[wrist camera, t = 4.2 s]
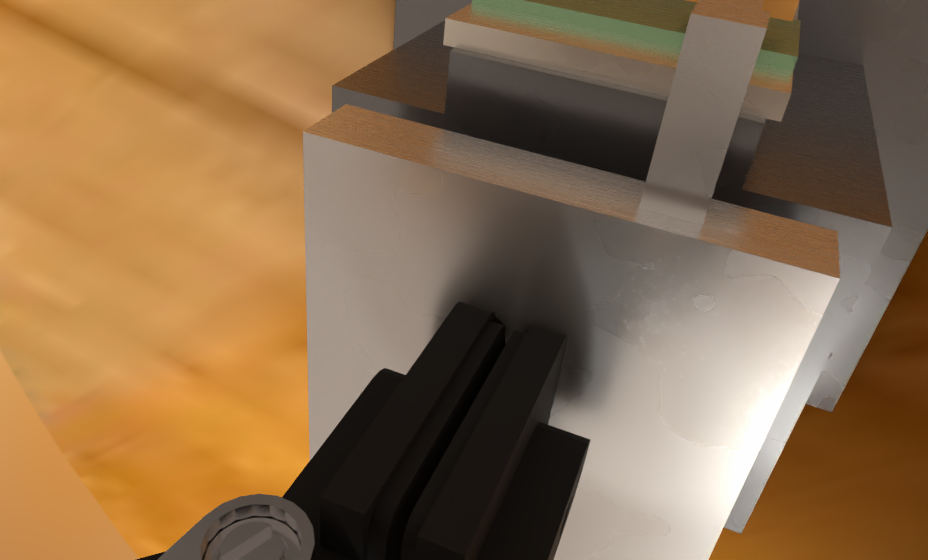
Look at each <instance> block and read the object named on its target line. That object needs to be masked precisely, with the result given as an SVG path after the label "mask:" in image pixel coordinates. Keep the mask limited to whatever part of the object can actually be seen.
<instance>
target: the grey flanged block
mask: <svg viewBox="0 0 928 560" xmlns="http://www.w3.org/2000/svg"><path fill="white" fill-rule="evenodd" d="M763 3H764V0H698V2H697V4H696V5H695V7H694V9H693V10H692V12H691V14H690V18H689V22H688V25H687V29H686V33H685V37H684V40H683V44H682V48H681V52H680V55H679V59H678V63H677V67H676V70H675V74H674V78H673V82H672V85H671V89H670V93H669V97H668V100H667V104H666V108H665V112H664V115H663V119H662V123H661V127H660V130H659V134H658V138H657V142H656V145H655V149H654V153H653V157H652V160H651V164H650V168H649V172H648V175H647V179H646V182H645V181H641V180H637V179H633V178H629V177H625V176H622V175H618V174H614V173H610V172H606V171H602V170H598V169H595V168H591V167H587V166H583V165H579V164H575V163H571V162H568V161H564V160H560V159H556V158H552V157H548V156H544V155H541V154H537V153H533V152H529V151H525V150H521V149H517V148H514V147H510V146H506V145H502V144H498V143H494V142H490V141H486V140H483V139H479V138H475V137H471V136H467V135H463V134H459V133H456V132H452V131H448V130H444V129H440V128H436V127H432V126H429V125H425V124H421V123H417V122H413V121H409V120H405V119H402V118H398V117H394V116H390V115H386V114H382V113H378V112H375V111H371V110H367V109H363V108H359V107H355V106H351V105H348V104H345V105H344V106H342V107H341V108H339V109H338V110H336V111H334V112H333V113H331V114H330V115H328V116H327V117H325V118H324V119H322V120H320V121H319V122H317V123H316V124H314V125H313V126H311V127H309V128H308V129H306V130H305V131H303V157H304V205H305V252H306V300H307V347H308V394H309V442H310V460H311V459H312V458H313V456H314V455H315V454H316V452H317V451H318V450H319V448H320V447H321V446H322V444H323V443H324V442H325V440H326V439H327V438H328V437H329V435H330V434H331V433H332V431H333V430H334V429H335V427H336V426H337V425H338V423H339V422H340V421H341V419H342V418H343V417H344V415H345V414H346V413H347V411H348V410H349V409H350V408H351V406H352V405H353V404H354V402H355V401H356V400H357V398H358V397H359V396H360V394H361V393H362V392H363V390H364V389H365V388H366V386H367V385H368V384H369V383H370V381H371V380H372V379H373V377H374V376H375V375H376V374H377V373H378V372H379V371H380V370H382V369H384V368H387V369H390V370H393V371H395V372H398V373H401V374H404V375H406V374H407V373H408V371H409V370H410V368H411V367H412V365H413V364H414V363H415V361H416V360H417V358H418V357H419V356H420V354H421V353H422V351H423V350H424V348H425V347H426V346H427V344H428V343H429V341H430V340H431V339H432V337H433V336H434V334H435V333H436V331H437V330H438V329H439V327H440V326H441V324H442V323H443V322H444V320H445V319H446V317H447V316H448V314H449V313H450V312H451V310H452V309H453V307H454V306H455V305H456V304H457V303H458V302H463V303H467V304H470V305H473V306H476V307H479V308H482V309H486V310H489V311H492V312H494V313H495V322H494V323H498V324H501V325H504V326H505V335H504V341H503V347H502V350H503V348H504V347H505V345H506V343H507V341H508V340H509V338H510V336H511V334H512V333H513V331H514V330H515V329H516V330H520V331H523V332H527V330H528V329H529V327H530V326H531V325H532V324H533V325H536V326H540V327H543V328H546V329H549V330H552V331H555V332H558V333H562V334H565V335H567V336H568V340H567V345H566V349H565V353H564V357H563V362H562V366H561V370H560V375H559V379H558V383H557V388H556V392H555V396H554V401H553V405H552V409H551V414H550V418H549V422H548V425H550V426H553V427H556V428H559V429H562V430H565V431H567V432H570V433H573V434H576V435H579V436H582V437H585V438H587V439H590V444H589V448H588V452H587V455H586V459H585V462H584V466H583V469H582V473H581V476H580V480H579V483H578V487H577V490H576V493H575V496H574V500H573V503H572V506H571V509H570V512H569V515H568V518H567V521H566V524H565V527H564V530H563V533H562V536H561V539H560V542H559V545H558V548H557V551H556V554H555V557H554V560H708V559H709V557H710V555H711V553H712V551H713V549H714V546H715V544H716V542H717V540H718V538H719V536H720V534H721V532H722V529H723V527H724V525H725V523H726V521H727V519H728V517H729V514H730V512H731V510H732V508H733V506H734V504H735V502H736V500H737V497H738V495H739V493H740V491H741V489H742V487H743V485H744V483H745V480H746V478H747V476H748V474H749V472H750V470H751V468H752V465H753V463H754V461H755V459H756V457H757V455H758V453H759V451H760V448H761V446H762V444H763V442H764V440H765V438H766V436H767V433H768V431H769V429H770V427H771V425H772V423H773V421H774V419H775V416H776V414H777V412H778V410H779V408H780V406H781V404H782V401H783V399H784V397H785V395H786V393H787V391H788V389H789V387H790V384H791V382H792V380H793V378H794V376H795V374H796V372H797V370H798V367H799V365H800V363H801V361H802V359H803V357H804V355H805V352H806V350H807V348H808V346H809V344H810V342H811V340H812V338H813V335H814V333H815V331H816V329H817V327H818V325H819V323H820V320H821V318H822V316H823V314H824V312H825V310H826V308H827V306H828V303H829V301H830V299H831V297H832V295H833V293H834V291H835V288H836V286H837V284H838V282H839V280H840V267H839V247H838V231H834V230H830V229H826V228H822V227H819V226H815V225H811V224H807V223H803V222H799V221H795V220H792V219H788V218H784V217H780V216H776V215H772V214H768V213H764V212H761V211H757V210H753V209H749V208H745V207H741V206H737V205H734V204H730V203H726V202H722V201H718V200H714V199H711V198H712V195H713V192H714V189H715V186H716V183H717V180H718V177H719V174H720V171H721V168H722V165H723V162H724V158H725V155H726V152H727V149H728V146H729V143H730V140H731V137H732V134H733V131H734V128H735V125H736V122H737V119H738V116H739V113H740V110H741V106H742V103H743V100H744V97H745V94H746V91H747V88H748V85H749V82H750V79H751V76H752V73H753V70H754V67H755V64H756V61H757V58H758V54H759V51H760V48H761V45H762V42H763V39H764V36H765V33H766V30H767V26H768V22H769V17H770V12H768V11H763V10H762V7H763Z"/></svg>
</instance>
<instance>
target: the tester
mask: <svg viewBox="0 0 928 560" xmlns="http://www.w3.org/2000/svg"><path fill="white" fill-rule="evenodd" d="M696 4H697V3H695V2H689V1H685V0H396V9H395V30H394V50H393V51H391V52H389V53H388V54H386V55H384V56H382V57H381V58H379V59H377V60H376V61H374V62H372V63H370V64H369V65H367V66H365V67H363V68H362V69H360V70H358V71H357V72H355V73H353V74H351V75H350V76H348V77H346V78H345V79H343V80H341V81H339V82H338V83H336V84H334V85H333V86H332V113H333V112H334V111H336V110H338V109H339V108H341V107H342V106H344V105H345V104H348V105H351V106H355V107H359V108H363V109H367V110H371V111H375V112H378V113H382V114H386V115H390V116H394V117H398V118H402V119H405V120H409V121H413V122H417V123H421V124H425V125H429V126H432V127H436V128H440V129H444V130H448V131H452V132H456V133H459V134H463V135H467V136H471V137H475V138H479V139H483V140H486V141H490V142H494V143H498V144H502V145H506V146H510V147H514V148H517V149H521V150H525V151H529V152H533V153H537V154H541V155H544V156H548V157H552V158H556V159H560V160H564V161H568V162H571V163H575V164H579V165H583V166H587V167H591V168H595V169H598V170H602V171H606V172H610V173H614V174H618V175H622V176H625V177H629V178H633V179H637V180H641V181H645V182H646V179H647V175H648V172H649V168H650V164H651V160H652V157H653V153H654V149H655V145H656V142H657V138H658V134H659V130H660V127H661V123H662V119H663V115H664V112H665V108H666V104H667V100H668V97H669V93H670V89H671V85H672V82H673V78H674V74H675V70H676V67H677V63H678V59H679V55H680V52H681V48H682V44H683V40H684V37H685V33H686V29H687V25H688V22H689V18H690V14H691V12H692V10H693V9H694V7H695V5H696ZM711 199H714V200H718V201H722V202H726V203H730V204H734V205H737V206H741V207H745V208H749V209H753V210H757V211H761V212H764V213H768V214H772V215H776V216H780V217H784V218H788V219H792V220H795V221H799V222H803V223H807V224H811V225H815V226H819V227H822V228H826V229H830V230H834V231H838V247H839V267H840V280H839V282H838V284H837V286H836V288H835V291H834V293H833V295H832V297H831V299H830V301H829V303H828V306H827V308H826V310H825V312H824V314H823V316H822V318H821V320H820V323H819V325H818V327H817V329H816V331H815V333H814V335H813V338H812V340H811V342H810V344H809V346H808V348H807V350H806V352H805V355H804V357H803V359H802V361H801V363H800V365H799V367H798V370H797V372H796V374H795V376H794V378H793V380H792V382H791V384H790V387H789V389H788V391H787V393H786V395H785V397H784V399H783V401H782V404H781V406H780V408H779V410H778V412H777V414H776V416H775V419H774V421H773V423H772V425H771V427H770V429H769V431H768V433H767V436H766V438H765V440H764V442H763V444H762V446H761V448H760V451H759V453H758V455H757V457H756V459H755V461H754V463H753V465H752V468H751V470H750V472H749V474H748V476H747V478H746V480H745V483H744V485H743V487H742V489H741V491H740V493H739V495H738V497H737V500H736V502H735V504H734V506H733V508H732V510H731V512H730V514H729V517H728V519H727V521H726V523H725V525H724V528H726V529H729V530H732V531H735V532H737V533H740V534H741V533H742V531H743V529H744V527H745V525H746V523H747V521H748V519H749V517H750V515H751V513H752V511H753V509H754V507H755V505H756V503H757V501H758V499H759V497H760V495H761V493H762V491H763V489H764V487H765V485H766V483H767V481H768V478H769V476H770V474H771V472H772V470H773V468H774V466H775V464H776V462H777V460H778V458H779V456H780V454H781V452H782V450H783V448H784V446H785V444H786V442H787V440H788V438H789V436H790V434H791V432H792V430H793V428H794V426H795V424H796V422H797V420H798V418H799V416H800V414H801V412H802V410H803V408H804V406H805V404H807V405H810V406H813V407H817V408H820V409H823V410H826V411H829V412H832V411H833V409H834V407H835V405H836V403H837V401H838V400H839V398H840V396H841V394H842V392H843V390H844V388H845V386H846V384H847V382H848V381H849V379H850V377H851V375H852V373H853V371H854V369H855V367H856V365H857V363H858V362H859V360H860V358H861V356H862V354H863V352H864V350H865V348H866V346H867V344H868V343H869V341H870V339H871V337H872V335H873V333H874V331H875V329H876V327H877V325H878V324H879V322H880V320H881V318H882V316H883V314H884V312H885V310H886V308H887V306H888V304H889V303H890V301H891V299H892V297H893V295H894V293H895V291H896V289H897V287H898V285H899V284H900V282H901V280H902V278H903V276H904V274H905V272H906V270H907V268H908V266H909V265H910V263H911V261H912V259H913V257H914V255H915V253H916V251H917V249H918V247H919V246H920V244H921V242H922V240H923V238H924V236H925V234H926V232H927V230H928V0H799V3H798V6H797V9H796V12H795V15H794V18H793V21H787V20H782V19H777V18H771V17H769V22H768V26H767V30H766V33H765V36H764V39H763V42H762V45H761V48H760V51H759V54H758V58H757V61H756V64H755V67H754V70H753V73H752V76H751V79H750V82H749V85H748V88H747V91H746V94H745V97H744V100H743V103H742V106H741V110H740V113H739V116H738V119H737V122H736V125H735V128H734V131H733V134H732V137H731V140H730V143H729V146H728V149H727V152H726V155H725V158H724V162H723V165H722V168H721V171H720V174H719V177H718V180H717V183H716V186H715V189H714V192H713V195H712V198H711Z"/></svg>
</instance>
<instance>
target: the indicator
mask: <svg viewBox="0 0 928 560" xmlns="http://www.w3.org/2000/svg"><path fill="white" fill-rule="evenodd" d="M685 1H689V2H695V3H697V2H698V0H685ZM798 3H799V0H764V3H763V7H762V10H763V11H768V12H770V17H771V18H777V19H782V20H787V21H793V18H794V15H795V12H796V9H797V6H798Z"/></svg>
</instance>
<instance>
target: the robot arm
mask: <svg viewBox="0 0 928 560" xmlns="http://www.w3.org/2000/svg"><path fill="white" fill-rule="evenodd" d="M494 322H495V313H494V312H492V311H489V310H486V309H482V308H479V307H476V306H473V305H470V304H467V303H463V302H458V303H457V304H456V305H455V306H454V307H453V309H452V310H451V312H450V313H449V314H448V316H447V317H446V319H445V320H444V322H443V323H442V324H441V326H440V327H439V329H438V330H437V331H436V333H435V334H434V336H433V337H432V339H431V340H430V341H429V343H428V344H427V346H426V347H425V348H424V350H423V351H422V353H421V354H420V356H419V357H418V358H417V360H416V361H415V363H414V364H413V365H412V367H411V368H410V370H409V371H408V373H407V374H406V375H404V374H401V373H398V372H395V371H393V370H390V369H387V368H384V369H382V370H380V371H379V372H378V373H377V374H376V375H375V376H374V377H373V379H372V380H371V381H370V383H369V384H368V385H367V386H366V388H365V389H364V390H363V392H362V393H361V394H360V396H359V397H358V398H357V400H356V401H355V402H354V404H353V405H352V406H351V408H350V409H349V410H348V411H347V413H346V414H345V415H344V417H343V418H342V419H341V421H340V422H339V423H338V425H337V426H336V427H335V429H334V430H333V431H332V433H331V434H330V435H329V437H328V438H327V439H326V440H325V442H324V443H323V444H322V446H321V447H320V448H319V450H318V451H317V452H316V454H315V455H314V456H313V458H312V459H311V460H310V462H309V463H308V464H307V465H306V467H305V468H304V469H303V471H302V472H301V473H300V475H299V476H298V477H297V479H296V480H295V481H294V483H293V484H292V485H291V487H290V488H289V489H288V491H287V492H286V493H285V494H284V496H283V497H282V498H281V497H279V496H273V495H264V494H255V495H248V496H241V497H238V498H235V499H233V500H230V501H228V502H225V503H223V504H221V505H219V506H218V507H217V508H215V509H214V510H212V511H211V512H210V513H208V514H207V515H205V516H204V517H203V518H202V519H201V520H200V521H199V522H198V523H197V524H196V525H195V526H193V527H192V528H191V529H190V530H189V531H188V532H187V533H186V534H185V535H184V536H182V537H181V538H180V539H179V540H178V541H177V542H176V543H175V544H174V545H173V546H172V547H170V548H169V549H168V550H167V551H166V552H162V553H159V554H155V555H151V556H148V557H144V558H140V559H137V560H554V557H555V554H556V551H557V548H558V545H559V542H560V539H561V536H562V533H563V530H564V527H565V524H566V521H567V518H568V515H569V512H570V509H571V506H572V503H573V500H574V496H575V493H576V490H577V487H578V483H579V480H580V476H581V473H582V469H583V466H584V462H585V459H586V455H587V452H588V448H589V444H590V439H587V438H585V437H582V436H579V435H576V434H573V433H570V432H567V431H565V430H562V429H559V428H556V427H553V426H550V425H548V422H549V418H550V414H551V409H552V405H553V401H554V396H555V392H556V388H557V383H558V379H559V375H560V370H561V366H562V362H563V357H564V353H565V349H566V345H567V340H568V336H567V335H565V334H562V333H558V332H555V331H552V330H549V329H546V328H543V327H540V326H536V325H533V324H532V325H531V326H530V327H529V329H528V330H527V332H523V331H520V330H516V329H515V330H514V331H513V333H512V334H511V336H510V338H509V340H508V341H507V343H506V345H505V347H504V348H503V350H502V347H503V341H504V335H505V326H504V325H501V324H498V323H494Z"/></svg>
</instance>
